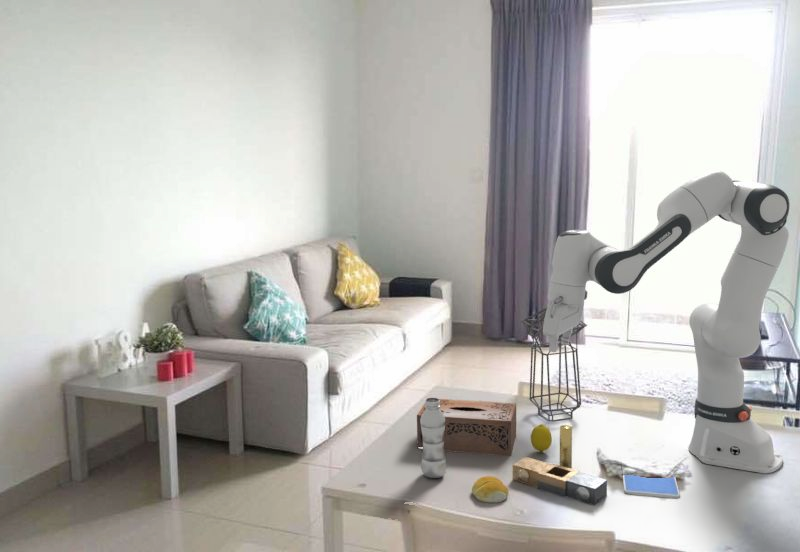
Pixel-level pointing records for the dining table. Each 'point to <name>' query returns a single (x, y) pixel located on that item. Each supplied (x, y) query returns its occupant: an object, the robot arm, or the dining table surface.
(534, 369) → the geometric lantern
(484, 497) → the bread roll
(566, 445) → the brass pin
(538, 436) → the lemon
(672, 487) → the tablet computer
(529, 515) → the dining table surface
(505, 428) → the tissue box cover
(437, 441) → the plastic bottle
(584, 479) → the block
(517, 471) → the block
